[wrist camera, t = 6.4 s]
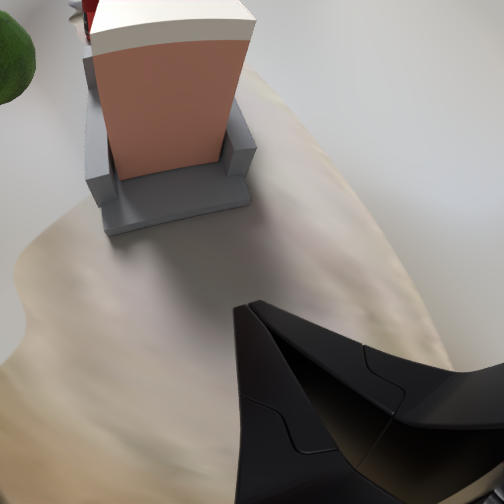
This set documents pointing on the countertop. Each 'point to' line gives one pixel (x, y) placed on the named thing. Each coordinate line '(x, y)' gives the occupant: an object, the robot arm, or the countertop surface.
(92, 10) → the canned food
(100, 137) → the housing
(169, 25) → the pink white rectangular block
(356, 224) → the countertop surface
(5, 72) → the avocado
